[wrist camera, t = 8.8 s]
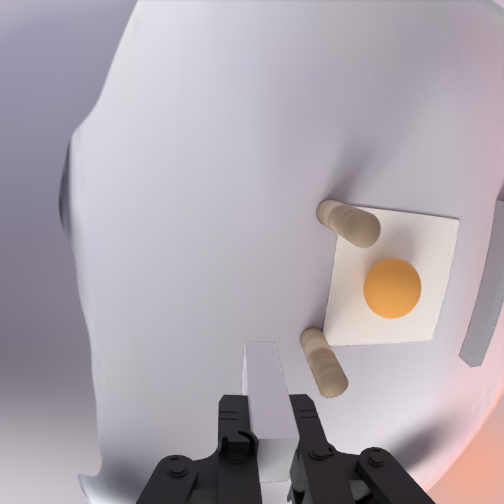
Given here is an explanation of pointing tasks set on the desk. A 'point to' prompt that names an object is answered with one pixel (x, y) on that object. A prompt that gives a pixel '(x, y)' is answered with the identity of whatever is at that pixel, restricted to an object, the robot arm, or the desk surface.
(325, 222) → the post
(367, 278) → the ball
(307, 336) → the post
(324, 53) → the desk surface
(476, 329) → the stopper wall
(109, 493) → the desk surface
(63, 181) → the desk surface
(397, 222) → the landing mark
